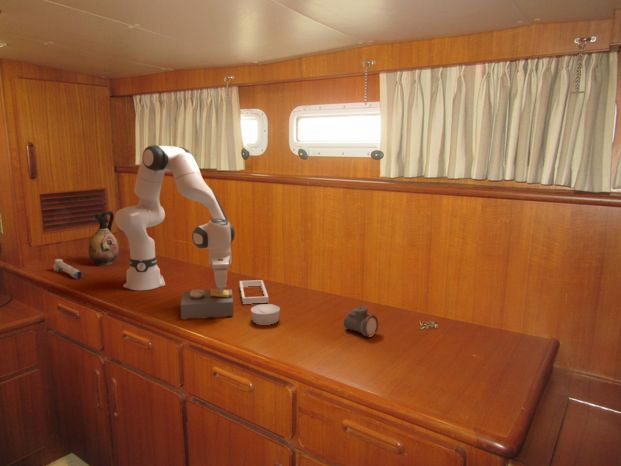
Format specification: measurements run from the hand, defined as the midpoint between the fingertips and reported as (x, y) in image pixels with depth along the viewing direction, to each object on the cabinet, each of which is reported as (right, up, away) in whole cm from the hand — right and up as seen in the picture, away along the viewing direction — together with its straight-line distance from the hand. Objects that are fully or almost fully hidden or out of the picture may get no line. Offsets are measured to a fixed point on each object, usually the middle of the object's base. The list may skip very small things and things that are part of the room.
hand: (221, 291), depth 181 cm
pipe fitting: (+55, -13, -17) cm, 59 cm away
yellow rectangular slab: (0, -1, +1) cm, 1 cm away
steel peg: (-9, -8, 0) cm, 12 cm away
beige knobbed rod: (-89, +3, +47) cm, 100 cm away
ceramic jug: (-79, +7, +68) cm, 105 cm away
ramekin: (+19, -11, -9) cm, 24 cm away
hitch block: (-6, -8, +1) cm, 10 cm away
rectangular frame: (+10, -4, +21) cm, 24 cm away
